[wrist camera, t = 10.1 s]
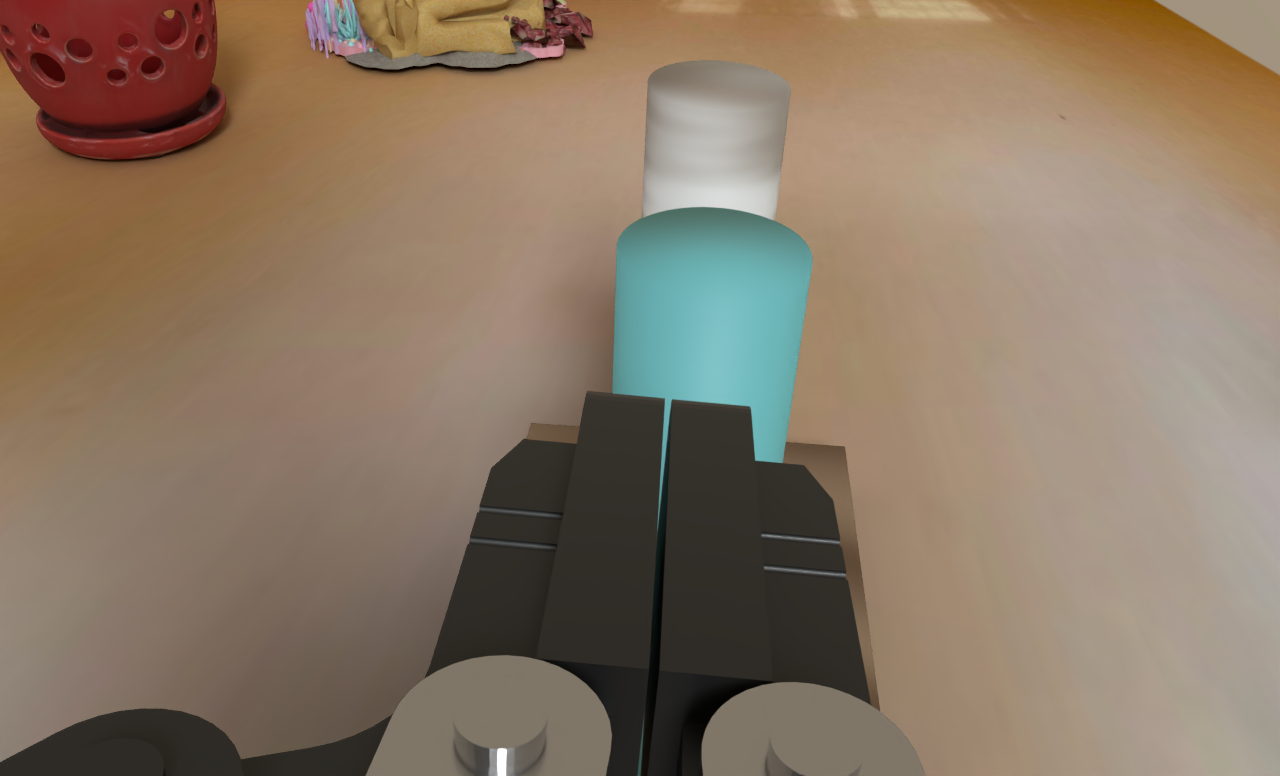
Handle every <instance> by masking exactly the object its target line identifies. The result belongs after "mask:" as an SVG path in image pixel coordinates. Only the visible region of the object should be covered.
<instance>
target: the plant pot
mask: <svg viewBox="0 0 1280 776" xmlns="http://www.w3.org/2000/svg"><path fill="white" fill-rule="evenodd" d="M170 9H171V10H175V14H174V17H173V18H171V19H169V18H168V17H166V16H165V15H164V13H163V12H164V11H167V10H170ZM36 24H37V29H36ZM9 29H10V30H9ZM10 31H11V32H10ZM0 51H1V53H2V55H3V57H4V59H5V60H6V62H7V64H8V66H9V68H10V70H11V71H12V73H13V75H14V76H15V78H16V79H17V81H18V82H19V83H20V85H21V86H22V87H23V89H24V90H25V91H26V92H27V93H28V95H29V96H30V97H31V98H32V99H33V100H34V101H35V102H36V103H37V104H38V105H39V106H40V107H41V108H40V110H39V111H38V114H37V116H36V123H37V126H38V129H39V131H40V132H41V134H42V135H43V136H44V137H45V138H46V139H47V140H48V141H49V142H51V143H52V144H54V145H55V146H57V147H59V148H60V149H62V150H64V151H67V152H69V153H72V154H75V155H79V156H82V157H87V158H94V159H134V158H142V157H150V158H157V157H161V156H162V155H163V154H165V153H169V152H172V151H175V150H178V149H180V148H183V147H185V146H188V145H190V144H193V143H195V142H197V141H199V140H201V139H202V138H204V137H205V136H207V135H208V134H209V133H210V132H211V131H213V130H214V129H215V128H216V126H217V125H218V124H219V123H220V121H221V119H222V117H223V115H224V113H225V109H226V97H225V95H224V93H223V91H222V90H221V89H220V88H219V87H217V86H216V85H214V84H212V83H211V82H212V78H213V75H214V70H215V65H216V56H217V21H216V10H215V2H214V0H0Z"/></svg>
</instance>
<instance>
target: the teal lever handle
mask: <svg viewBox="0 0 1280 776" xmlns="http://www.w3.org/2000/svg"><path fill="white" fill-rule="evenodd" d="M811 269H812V254H811V250H810V249H809V247H808V245H807V244H806V242H805V241H804V240H803V239H802V238H801V237H800V236H799V235H798V234H797V233H795V232H794V231H792V230H791V229H789V228H788V227H786V226H784V225H782V224H780V223H778V222H776V221H774V220H771V219H769V218H766V217H763V216H760V215H756V214H753V213H749V212H744V211H740V210H733V209H727V208H716V207H689V208H678V209H671V210H666V211H662V212H658V213H655V214H651V215H648V216H646V217H644V218H641V219H639V220H638V221H636V222H634V223H632V224H631V225H630V226H628V227H627V228H626V229H625V230H624V231H623V232H622V234H621V235H620V237H619V239H618V242H617V256H616V288H615V319H614V351H613V383H612V393H614V394H625V395H636V396H647V397H657V398H665V409H664V426H663V443H662V459H661V476H660V493H659V509H658V521H659V511H660V502H661V492H662V483H663V473H664V464H665V454H666V445H667V435H668V426H669V416H670V408H671V401H672V399H676V400H687V401H698V402H709V403H720V404H731V405H741V406H750V408H751V414H752V426H753V438H754V451H755V461H766V462H777V463H783V457H784V451H785V444H786V437H787V430H788V424H789V417H790V410H791V403H792V397H793V390H794V383H795V377H796V370H797V363H798V356H799V350H800V343H801V336H802V329H803V323H804V316H805V309H806V303H807V296H808V289H809V282H810V276H811ZM657 530H658V526H657ZM643 726H644V719H643ZM642 742H643V729H642V738H641V747H640V756H639V765H638V775H637V776H640V774H641V758H642Z"/></svg>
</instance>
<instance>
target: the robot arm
mask: <svg viewBox="0 0 1280 776" xmlns="http://www.w3.org/2000/svg"><path fill="white" fill-rule="evenodd" d="M664 409H665V398H657V397H647V396H636V395H625V394H614V393H603V392H592V391H587V393H586V398H585V403H584V408H583V413H582V418H581V424H580V429H579V434H578V439H577V444H574V443H563V442H552V441H542V440H531V439H523V440H522V441H521V442H520V443H519V444H518V445H517V446H516V447H514V448H513V449H512V450H511V451H510V452H509V453H508V454H507V455H506V456H504V457H503V458H502V459H501V460H500V461H499V462H498V463H497V464H495V465H494V466H493V467H492V468H491V471H490V474H489V477H488V481H487V484H486V487H485V490H484V493H483V497H482V500H481V503H480V510H479V513H477V516H476V519H475V522H474V526H473V529H472V532H471V535H470V543H469V544H468V545H467V548H466V551H465V555H464V558H463V561H462V564H461V568H460V571H459V574H458V577H457V581H456V584H455V587H454V590H453V593H452V597H451V600H450V603H449V606H448V610H447V613H446V616H445V619H444V622H443V626H442V629H441V632H440V635H439V639H438V642H437V645H436V648H435V651H434V655H433V658H432V661H431V664H430V667H429V669H428V672H427V674H426V676H425V679H423V680H422V681H421V682H419V683H418V684H417V685H416V686H415V687H414V688H412V689H411V690H410V691H409V692H408V693H407V695H406V696H405V697H404V698H403V699H402V701H401V702H400V703H399V705H398V706H397V708H396V710H395V712H394V713H393V714H392V715H391V716H389V717H388V718H386V719H385V720H383V721H381V722H380V723H378V724H377V725H375V726H373V727H371V728H369V729H367V730H365V731H363V732H361V733H359V734H357V735H354V736H352V737H349V738H346V739H343V740H340V741H337V742H334V743H330V744H325V745H321V746H316V747H312V748H306V749H300V750H294V751H288V752H282V753H276V754H270V755H264V756H258V757H252V758H246V759H240V756H239V754H238V752H237V750H236V747H235V745H234V744H233V743H232V741H231V740H230V739H229V738H228V736H227V735H226V734H225V733H224V732H223V731H221V730H220V729H219V728H217V727H216V726H215V725H214V724H212V723H210V722H208V721H206V720H204V719H202V718H200V717H198V716H195V715H191V714H188V713H185V712H181V711H174V710H167V709H134V710H125V711H118V712H114V713H110V714H105V715H101V716H97V717H94V718H91V719H88V720H85V721H82V722H79V723H77V724H74V725H72V726H70V727H68V728H66V729H64V730H61V731H59V732H57V733H55V734H53V735H51V736H49V737H47V738H45V739H44V740H42V741H40V742H38V743H36V744H34V745H32V746H30V747H28V748H26V749H25V750H23V751H21V752H19V753H17V754H15V755H13V756H11V757H9V758H7V759H6V760H4V761H2V762H0V776H637V775H638V765H639V756H640V747H641V738H642V729H643V742H642V758H641V774H640V776H925V773H924V770H923V767H922V764H921V762H920V759H919V757H918V755H917V752H916V751H915V749H914V747H913V746H912V744H911V743H910V741H909V740H908V738H907V737H906V736H905V735H904V733H903V732H902V731H901V730H900V729H899V728H898V727H897V726H896V725H895V724H894V723H893V722H892V721H891V720H890V719H889V718H887V717H886V716H885V715H884V714H883V713H881V712H880V711H878V710H877V709H875V708H874V707H872V706H871V701H870V695H869V690H868V685H867V679H866V674H865V668H864V663H863V658H862V652H861V647H860V642H859V636H858V631H857V625H856V620H855V615H854V609H853V604H852V598H851V593H850V588H849V582H848V580H846V566H845V561H844V555H843V550H842V547H841V546H840V534H839V528H838V523H837V518H836V512H835V507H834V502H833V499H832V498H831V497H830V496H829V494H828V493H827V492H826V491H825V490H824V488H823V487H822V486H821V485H820V484H819V482H818V481H817V480H816V479H815V478H814V476H813V475H812V474H811V473H810V472H809V470H808V469H807V468H806V467H805V466H804V465H798V464H787V463H777V462H766V461H755V451H754V438H753V426H752V414H751V408H750V406H741V405H731V404H720V403H709V402H698V401H687V400H676V399H672V401H671V408H670V416H669V426H668V435H667V445H666V454H665V464H664V473H663V483H662V492H661V502H660V511H659V521H658V509H659V493H660V476H661V459H662V443H663V426H664ZM657 526H658V530H657ZM643 719H644V726H643Z"/></svg>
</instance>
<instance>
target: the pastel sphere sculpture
mask: <svg viewBox="0 0 1280 776" xmlns="http://www.w3.org/2000/svg"><path fill="white" fill-rule="evenodd" d="M341 2H342V7H343V10H342V9H340V8H339V5H338V4H337V0H313V2H310V3H309V4H308V9H307V10H306V13H307V14H306V13H305V15H306V24H305V26H306V28H307V30H308V31H309V39H311V47H313V50H315V42H316V39H319V49H320V51H323V50H322V49H323V44H325V49H326V58H329V55H328V51H330V52H332V51H334V52H335V54H339V55H343V56H345V58H346V60H347V61H350V62H352V63H355V64H358V65H361V66H364V67H376V68H381V69H402V68H406V67H410V66H425V65H429V64H433V63H442V64H446V65H449V66H463V67H468V68H486V67H491V68H494V67H499V66H503V65H506V64H518V63H522V62H525V61H529V60H533V59H535V58H545V57H558V56H562V55H563V53H564V52H565V50H566V47H565V45H564V44H566V45H571V46H577V47H582V48H586V47H585V44H584V41H583V38H582V35H581V34H583V35H588V36H593V31H592V24H591V20H590V19H589V18H587V17H586V16H584V15H583V14H581V13H579V12H572V11H570V10H569V9H568V8H567V3H566V2H564V1H563V0H341ZM310 13H311V14H310Z"/></svg>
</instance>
